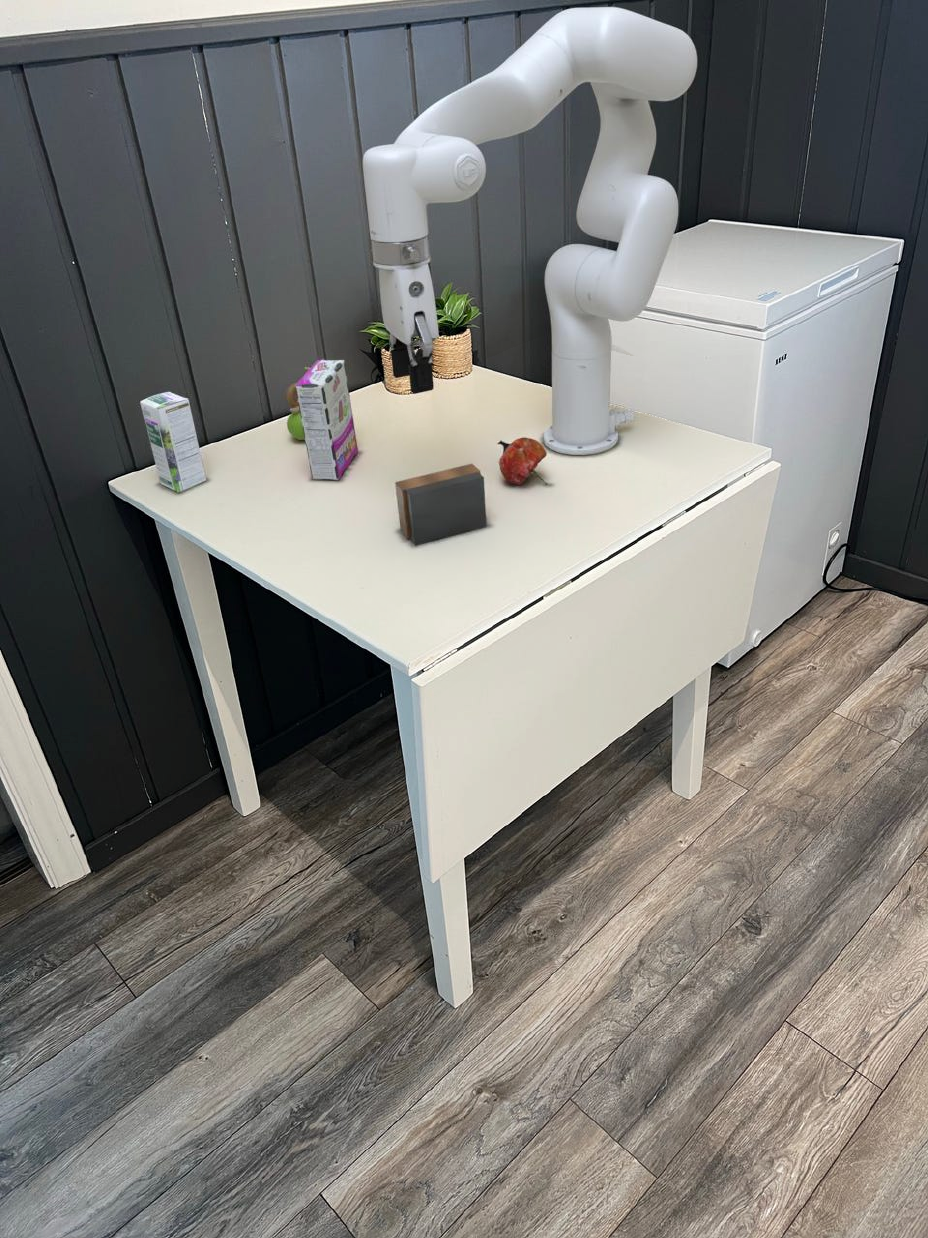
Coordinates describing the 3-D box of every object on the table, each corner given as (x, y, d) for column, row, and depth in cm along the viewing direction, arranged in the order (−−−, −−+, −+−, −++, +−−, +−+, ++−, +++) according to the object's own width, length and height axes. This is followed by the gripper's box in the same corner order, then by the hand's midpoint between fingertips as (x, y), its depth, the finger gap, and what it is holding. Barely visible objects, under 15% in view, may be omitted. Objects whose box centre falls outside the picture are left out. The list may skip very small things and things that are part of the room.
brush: (475, 511, 142) (472, 463, 137) (489, 526, 138) (486, 476, 134) (400, 531, 138) (394, 481, 134) (412, 546, 135) (407, 496, 130)
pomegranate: (549, 485, 152) (505, 441, 153) (571, 460, 146) (525, 414, 147) (523, 508, 148) (478, 463, 149) (544, 483, 142) (498, 436, 143)
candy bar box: (331, 451, 163) (317, 358, 154) (359, 452, 162) (346, 358, 153) (309, 480, 154) (293, 383, 145) (339, 481, 153) (324, 384, 144)
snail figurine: (330, 433, 170) (320, 368, 163) (306, 447, 165) (295, 381, 158) (307, 428, 172) (296, 364, 165) (283, 441, 168) (271, 376, 161)
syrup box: (159, 484, 156) (136, 400, 148) (189, 471, 160) (169, 389, 152) (178, 493, 153) (156, 408, 145) (208, 480, 157) (189, 396, 148)
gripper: (452, 260, 118) (461, 397, 128) (404, 234, 131) (416, 360, 141) (396, 269, 115) (410, 409, 126) (353, 242, 129) (368, 370, 139)
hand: (413, 382), depth 133 cm, fingers open, 6 cm apart
